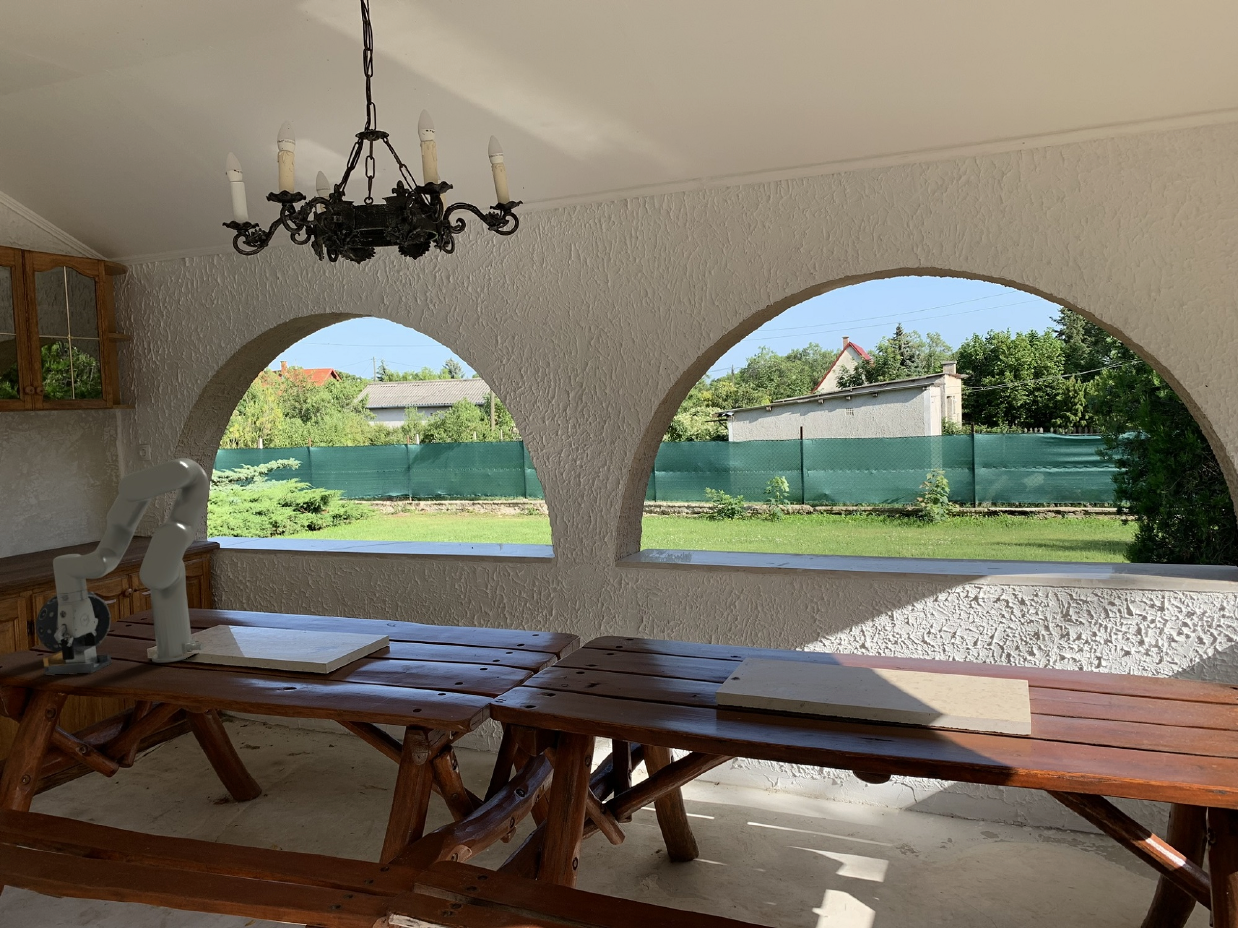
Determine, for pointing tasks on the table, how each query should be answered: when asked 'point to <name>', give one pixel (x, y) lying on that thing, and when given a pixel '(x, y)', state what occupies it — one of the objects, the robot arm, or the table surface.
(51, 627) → the dark grey studded drum
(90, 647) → the grey cube
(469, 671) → the table surface
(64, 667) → the coupler bracket
